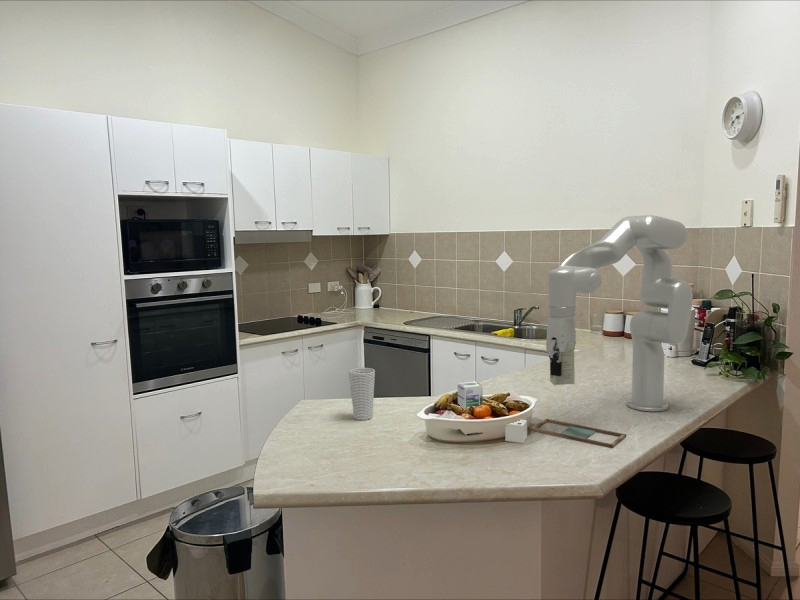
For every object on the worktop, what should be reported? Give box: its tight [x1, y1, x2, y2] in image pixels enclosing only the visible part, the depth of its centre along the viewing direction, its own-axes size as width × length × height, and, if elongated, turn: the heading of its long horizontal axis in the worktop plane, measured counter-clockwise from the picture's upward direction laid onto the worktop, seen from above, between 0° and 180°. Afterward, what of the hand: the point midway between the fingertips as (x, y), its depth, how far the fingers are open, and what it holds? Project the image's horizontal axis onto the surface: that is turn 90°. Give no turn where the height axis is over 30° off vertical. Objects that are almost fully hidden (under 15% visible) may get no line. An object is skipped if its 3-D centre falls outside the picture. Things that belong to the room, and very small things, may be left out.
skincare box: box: [549, 342, 576, 386], centre depth 168 cm, size 6×4×12 cm
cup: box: [348, 367, 376, 421], centre depth 186 cm, size 8×8×16 cm
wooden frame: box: [530, 418, 627, 449], centre depth 167 cm, size 11×24×1 cm, turn 50°
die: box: [504, 419, 528, 444], centre depth 163 cm, size 5×5×5 cm
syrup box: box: [456, 380, 484, 409], centre depth 170 cm, size 6×6×14 cm
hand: (562, 372), depth 168 cm, fingers closed on skincare box, 7 cm apart
